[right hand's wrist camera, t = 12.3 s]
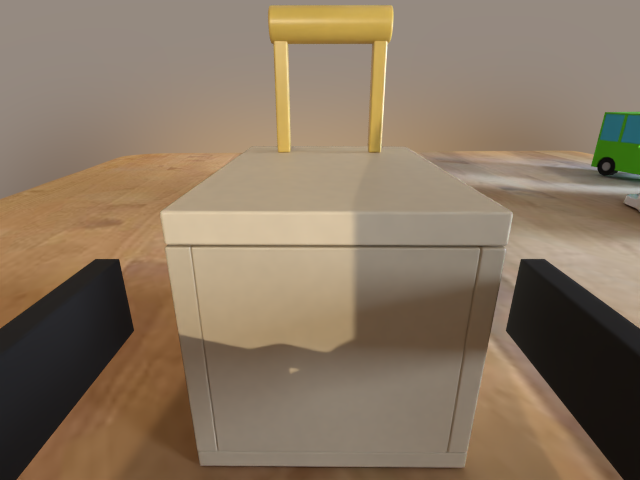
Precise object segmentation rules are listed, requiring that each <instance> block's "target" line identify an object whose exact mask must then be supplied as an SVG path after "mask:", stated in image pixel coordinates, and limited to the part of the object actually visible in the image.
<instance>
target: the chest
mask: <svg viewBox="0 0 640 480" xmlns="http://www.w3.org/2000/svg"><path fill="white" fill-rule="evenodd" d="M165 253H166V259H167V265H168V271H169V277H170V284H171V290H172V296H173V302H174V309H175V315H176V321H177V327H178V334H179V340H180V346H181V352H182V359H183V365H184V371H185V377H186V383H187V390H188V396H189V402H190V408H191V415H192V421H193V427H194V433H195V440H196V446H197V450H198V457H199V463H200V465H201V466H315V467H454V468H463V467H465V462H466V457H467V451H468V446H469V441H470V436H471V430H472V425H473V420H474V415H475V410H476V405H477V399H478V394H479V389H480V384H481V379H482V373H483V368H484V363H485V358H486V353H487V348H488V342H489V337H490V332H491V327H492V322H493V317H494V311H495V306H496V301H497V296H498V291H499V285H500V280H501V275H502V270H503V265H504V260H505V254H506V248H505V247H504V246H476V245H167V246H166V247H165Z"/></svg>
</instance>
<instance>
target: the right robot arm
mask: <svg viewBox="0 0 640 480" xmlns="http://www.w3.org/2000/svg"><path fill="white" fill-rule="evenodd" d="M133 331H134V328H133V323H132V319H131V314H130V309H129V304H128V300H127V295H126V290H125V285H124V281H123V276H122V271H121V266H120V262H119V259H95V260H94V261H92V262H91V263H90V264H88V265H87V266H86V267H84V268H83V269H81V270H80V271H79V272H77V273H76V274H75V275H73V276H72V277H70V278H69V279H68V280H66V281H65V282H64V283H62V284H61V285H60V286H58V287H57V288H55V289H54V290H53V291H51V292H50V293H49V294H47V295H46V296H44V297H43V298H42V299H40V300H39V301H38V302H36V303H35V304H34V305H32V306H31V307H29V308H28V309H27V310H25V311H24V312H23V313H21V314H20V315H18V316H17V317H16V318H14V319H13V320H12V321H10V322H9V323H7V324H6V325H5V326H3V327H2V328H1V329H0V480H16V479H17V478H18V477H19V476H20V474H21V473H22V472H23V471H24V469H25V468H26V467H27V466H28V464H29V463H30V462H31V460H32V459H33V458H34V457H35V455H36V454H37V453H38V452H39V450H40V449H41V448H42V447H43V445H44V444H45V443H46V441H47V440H48V439H49V438H50V436H51V435H52V434H53V433H54V431H55V430H56V429H57V428H58V426H59V425H60V424H61V422H62V421H63V420H64V419H65V417H66V416H67V415H68V414H69V412H70V411H71V410H72V409H73V407H74V406H75V405H76V404H77V402H78V401H79V400H80V398H81V397H82V396H83V395H84V393H85V392H86V391H87V390H88V388H89V387H90V386H91V385H92V383H93V382H94V381H95V379H96V378H97V377H98V376H99V374H100V373H101V372H102V371H103V369H104V368H105V367H106V366H107V364H108V363H109V362H110V360H111V359H112V358H113V357H114V355H115V354H116V353H117V352H118V350H119V349H120V348H121V347H122V345H123V344H124V343H125V341H126V340H127V339H128V338H129V336H130V335H131V334H132V333H133ZM506 331H507V333H508V334H509V335H510V336H511V338H512V339H513V340H514V341H515V343H516V344H517V345H518V347H519V348H520V349H521V350H522V352H523V353H524V354H525V355H526V357H527V358H528V359H529V360H530V362H531V363H532V364H533V366H534V367H535V368H536V369H537V371H538V372H539V373H540V374H541V376H542V377H543V378H544V379H545V381H546V382H547V383H548V385H549V386H550V387H551V388H552V390H553V391H554V392H555V393H556V395H557V396H558V397H559V398H560V400H561V401H562V402H563V404H564V405H565V406H566V407H567V409H568V410H569V411H570V412H571V414H572V415H573V416H574V417H575V419H576V420H577V421H578V423H579V424H580V425H581V426H582V428H583V429H584V430H585V431H586V433H587V434H588V435H589V436H590V438H591V439H592V440H593V441H594V443H595V444H596V445H597V447H598V448H599V449H600V450H601V452H602V453H603V454H604V455H605V457H606V458H607V459H608V460H609V462H610V463H611V464H612V466H613V467H614V468H615V469H616V471H617V472H618V473H619V474H620V476H621V477H622V478H623V479H624V480H640V329H639V328H638V327H637V326H635V325H634V324H633V323H631V322H630V321H628V320H627V319H626V318H624V317H623V316H622V315H620V314H619V313H617V312H616V311H615V310H613V309H612V308H611V307H609V306H608V305H606V304H605V303H604V302H602V301H601V300H600V299H598V298H597V297H596V296H594V295H593V294H591V293H590V292H589V291H587V290H586V289H585V288H583V287H582V286H580V285H579V284H578V283H576V282H575V281H574V280H572V279H571V278H570V277H568V276H567V275H565V274H564V273H563V272H561V271H560V270H559V269H557V268H556V267H554V266H553V265H552V264H550V263H549V262H548V261H546V260H545V259H521V262H520V266H519V271H518V276H517V281H516V285H515V290H514V295H513V300H512V304H511V309H510V314H509V318H508V323H507V328H506Z"/></svg>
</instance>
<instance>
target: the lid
mask: <svg viewBox="0 0 640 480" xmlns="http://www.w3.org/2000/svg"><path fill="white" fill-rule="evenodd" d="M268 24H269V35H270V40H271V43H272V44H274V68H275V93H276V118H277V143H278V147H251V148H249V149H248V150H246V151H245V152H243V153H242V154H241V155H239V156H238V157H236V158H235V159H234V160H232V161H231V162H229V163H228V164H227V165H225V166H224V167H222V168H221V169H219V170H218V171H217V172H215V173H214V174H212V175H211V176H210V177H208V178H207V179H205V180H204V181H203V182H201V183H200V184H198V185H197V186H196V187H194V188H193V189H191V190H190V191H188V192H187V193H186V194H184V195H183V196H181V197H180V198H179V199H177V200H176V201H174V202H173V203H172V204H170V205H169V206H167V207H166V208H164V209H163V210H162V211H161V212H160V218H161V224H162V230H163V236H164V242H165V244H167V245H476V246H505V245H507V243H508V238H509V233H510V228H511V222H512V217H513V213H512V212H511V211H510V210H508V209H506V208H505V207H503V206H502V205H500V204H498V203H497V202H495V201H493V200H492V199H490V198H488V197H487V196H485V195H484V194H482V193H480V192H479V191H477V190H475V189H474V188H472V187H471V186H469V185H467V184H466V183H464V182H462V181H461V180H459V179H457V178H456V177H454V176H453V175H451V174H449V173H448V172H446V171H444V170H443V169H441V168H440V167H438V166H436V165H435V164H433V163H431V162H430V161H428V160H427V159H425V158H423V157H422V156H420V155H418V154H417V153H415V152H413V151H412V150H410V149H409V148H407V147H381V144H382V127H383V110H384V92H385V74H386V57H387V44H388V43H389V42H390V40H391V36H392V29H393V7H392V6H391V5H271V6H269V11H268ZM288 44H372V63H371V85H370V107H369V129H368V147H291V132H290V95H289V58H288Z"/></svg>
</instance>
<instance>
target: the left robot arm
mask: <svg viewBox="0 0 640 480" xmlns="http://www.w3.org/2000/svg"><path fill="white" fill-rule="evenodd" d="M624 203H625V204H627V205H629V206H632V207H634V208H636V209H638V211H639V212H640V193H639V194H630V195H627V196H626V198H625V200H624Z"/></svg>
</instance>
